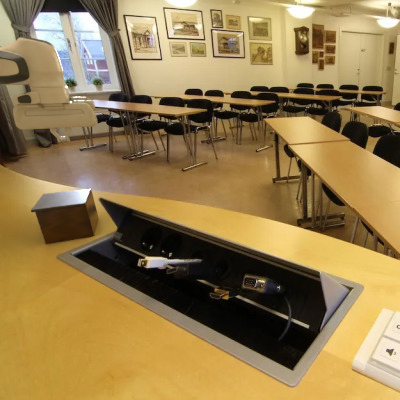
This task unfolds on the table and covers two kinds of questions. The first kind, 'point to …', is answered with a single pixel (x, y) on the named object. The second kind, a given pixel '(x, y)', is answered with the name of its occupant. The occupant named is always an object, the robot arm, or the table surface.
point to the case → (68, 222)
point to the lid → (62, 200)
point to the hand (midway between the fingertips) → (64, 142)
